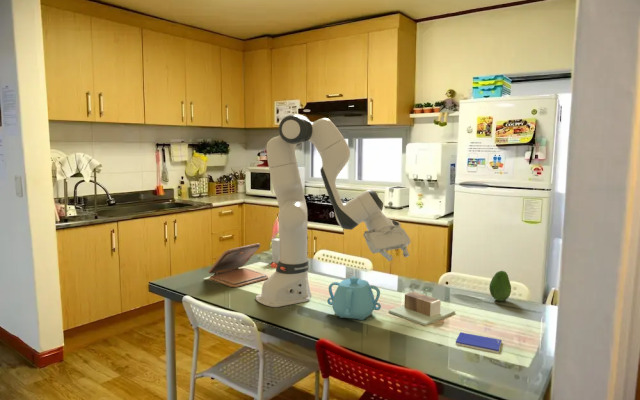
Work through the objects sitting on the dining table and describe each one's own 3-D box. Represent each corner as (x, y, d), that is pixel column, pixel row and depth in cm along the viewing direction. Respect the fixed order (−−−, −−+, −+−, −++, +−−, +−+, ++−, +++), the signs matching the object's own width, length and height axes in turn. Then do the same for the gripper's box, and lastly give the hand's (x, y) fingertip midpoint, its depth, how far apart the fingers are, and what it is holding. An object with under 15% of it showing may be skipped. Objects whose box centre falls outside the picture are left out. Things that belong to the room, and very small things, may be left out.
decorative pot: (384, 319, 156) (385, 282, 154) (342, 326, 150) (343, 286, 149) (363, 304, 171) (364, 269, 169) (324, 309, 165) (325, 273, 164)
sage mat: (425, 325, 151) (425, 323, 151) (388, 312, 163) (388, 310, 163) (455, 313, 162) (455, 310, 162) (418, 301, 174) (418, 299, 174)
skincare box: (285, 263, 230) (285, 239, 228) (278, 264, 227) (278, 241, 225) (278, 260, 234) (278, 237, 233) (271, 262, 231) (271, 238, 230)
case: (243, 270, 217) (242, 237, 215) (271, 279, 203) (270, 244, 201) (206, 279, 203) (205, 244, 201) (233, 289, 188) (232, 252, 186)
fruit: (510, 299, 178) (512, 269, 176) (510, 305, 171) (511, 274, 169) (489, 296, 181) (491, 267, 180) (487, 302, 174) (489, 272, 172)
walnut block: (404, 307, 165) (431, 317, 156) (404, 294, 165) (432, 303, 156) (412, 304, 169) (440, 313, 160) (413, 291, 168) (440, 300, 159)
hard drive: (501, 339, 138) (460, 331, 144) (499, 349, 131) (455, 341, 137) (501, 344, 139) (460, 336, 144) (498, 354, 131) (455, 346, 137)
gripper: (366, 226, 167) (385, 257, 161) (402, 221, 180) (420, 249, 173) (357, 236, 171) (375, 267, 164) (393, 230, 184) (411, 258, 177)
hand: (399, 258), depth 169 cm, fingers open, 8 cm apart
